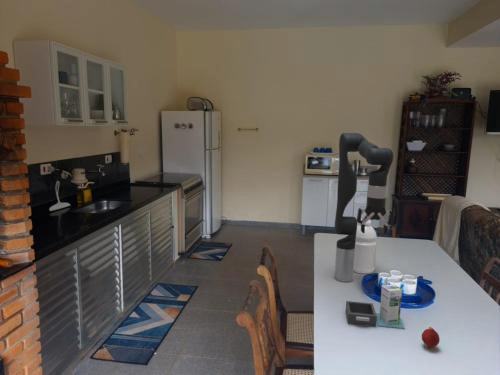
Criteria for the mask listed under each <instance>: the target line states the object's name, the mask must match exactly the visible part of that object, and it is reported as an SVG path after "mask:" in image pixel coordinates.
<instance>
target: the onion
mask: <svg viewBox="0 0 500 375" xmlns="http://www.w3.org/2000/svg"><path fill="white" fill-rule="evenodd" d="M421 340H422V342H423V343H424V345H425V346H427V347H428V348H430V349H431V348H435V347H436V346H438V345H439V344H440V334H439V332H437V331H436V330H435V329H434V328H433V326H429V327H428V328H426V329H425V330H423V332H422V333H421Z"/></svg>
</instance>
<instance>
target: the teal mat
mask: <svg viewBox="0 0 500 375" xmlns="http://www.w3.org/2000/svg"><path fill="white" fill-rule="evenodd" d="M376 315H377V323H376V324H377V326H378V328H379V327H381V328H387V329H388V328H389V329H391V328H392V329H398V330H399V329H401V330H405V329H406V328H405V325H404V323H403V320H402V319H401V317H400V322H399V323H390V324H386V323H385V322H384V321H383V320H382V319H381V318H380V312H376Z"/></svg>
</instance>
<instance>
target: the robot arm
mask: <svg viewBox="0 0 500 375" xmlns="http://www.w3.org/2000/svg"><path fill="white" fill-rule="evenodd" d="M357 152H358V153H359V156H361V157H362V158H364V159H365V160H366V162H367V164H368V165H370V166H380V167H379V168H378V169H376V170H371V171H370V172H369V175H368V186H367V191H366V192H367V194H366V206H365V207H366V208H360V207H359V208H358V209H357V214H356V215H357V216H356V217H355V216H347V215H346V216H345V215H344V213H345V210H346V208H347V206H348V204H349V203H350V202H351V201H352V199H353V198H354V196H355V195H356V192H357V188H358V178H357V174H356V173H355V171H354V170H353V168H352V166H351V165H350V162H349V158H348V157H349V156H348V153H357ZM338 154H339V155H338V156H339V157H338V160H339V161H338V162H339V164H338V177H337V195H336V196H337V200H336V210H335V211H336V212H335V219H334V232H335V234H337V235H346V236H345V237H342V238H340V239H337V241H336V248H335V249H336V250H335V265H334V279H335V280H336V281H339V282H344V283H347V282H348V283H350V282H352V281H353V278H354V271H353V268H354V253H355V242H356V233H357V225H358V224H359V223H360V224H361V232H362V233H365V223H366V222H367V221H368V220H370V221H371V220H372V221H375V220H376V221H379V220H381V222H382V223H383V225H382V226H383V228H382V234H383V235H386V234H387V233H388V229H389V228H388V227H389V226H391V225H392V226H393V224H394V211H393V210H392V209H387V210H386V203H387V201H386V200H387V185H388V184H387V183H388V174H389V173H390V169H391V166H392V164H393V160H394V152H393V150H392V149H391V148H389V147H379V146H378V145H376V144H374V143H372V142H370V141H369V140H367V138H366V137H365V136H364V135H363V134H362V133H358V132H343V133H341V134H340V136H339V143H338ZM364 213H365V216H364V217H363V220H361V219H362V215H363V214H364ZM386 215H387V216H388V221H387V220H386V219H385V217H384V216H386Z"/></svg>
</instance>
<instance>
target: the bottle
mask: <svg viewBox="0 0 500 375" xmlns="http://www.w3.org/2000/svg"><path fill="white" fill-rule="evenodd" d="M363 219H364V218H363ZM363 219H362V218H361V220H363ZM377 237H378V236H377V232H376V230H375V229H374V227H373V226H372V221H371V219H369V220H368V221H367V222H366V223H365V233H362V232H361V224H360V223H358V224H357V233H356V242H355V253H354V268H353V273H354V272H355V273H358V274H362V275H363V274H365V275H368V274H372V273H374V272H375V270H376V257H377V247H378V246H377V245H378V242H377V240H376V238H377Z"/></svg>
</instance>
